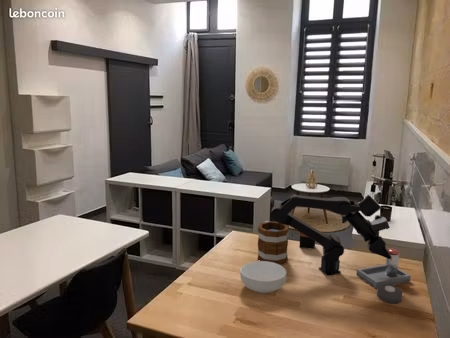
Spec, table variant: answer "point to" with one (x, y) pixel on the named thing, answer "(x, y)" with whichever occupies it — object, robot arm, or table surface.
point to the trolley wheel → (389, 293)
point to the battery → (306, 241)
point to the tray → (381, 276)
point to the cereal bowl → (263, 276)
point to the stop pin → (392, 263)
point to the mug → (272, 242)
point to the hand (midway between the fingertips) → (387, 253)
